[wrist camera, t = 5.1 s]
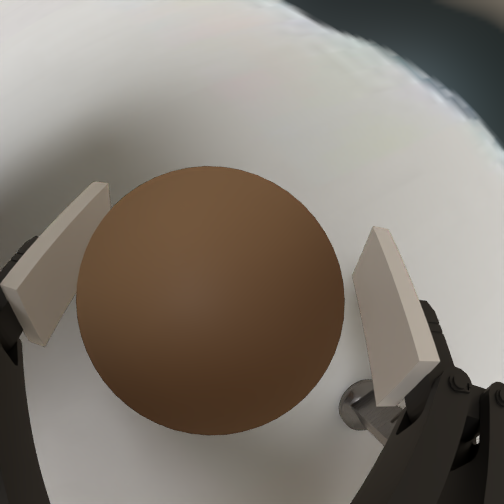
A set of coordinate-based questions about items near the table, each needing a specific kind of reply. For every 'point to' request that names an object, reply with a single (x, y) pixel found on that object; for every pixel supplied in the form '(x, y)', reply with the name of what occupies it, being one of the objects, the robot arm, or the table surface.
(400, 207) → the table surface
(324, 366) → the dowel
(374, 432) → the grey bent handle
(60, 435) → the table surface
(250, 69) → the table surface
